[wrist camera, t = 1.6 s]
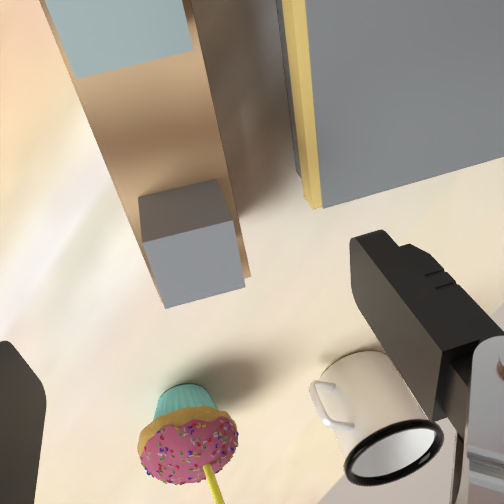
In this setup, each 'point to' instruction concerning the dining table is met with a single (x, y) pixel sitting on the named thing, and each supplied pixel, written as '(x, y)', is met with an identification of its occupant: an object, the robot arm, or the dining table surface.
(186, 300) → the grey cube
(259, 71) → the dining table surface
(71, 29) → the crate
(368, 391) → the mug
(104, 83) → the brown wooden box
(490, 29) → the dock
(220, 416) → the cupcake
